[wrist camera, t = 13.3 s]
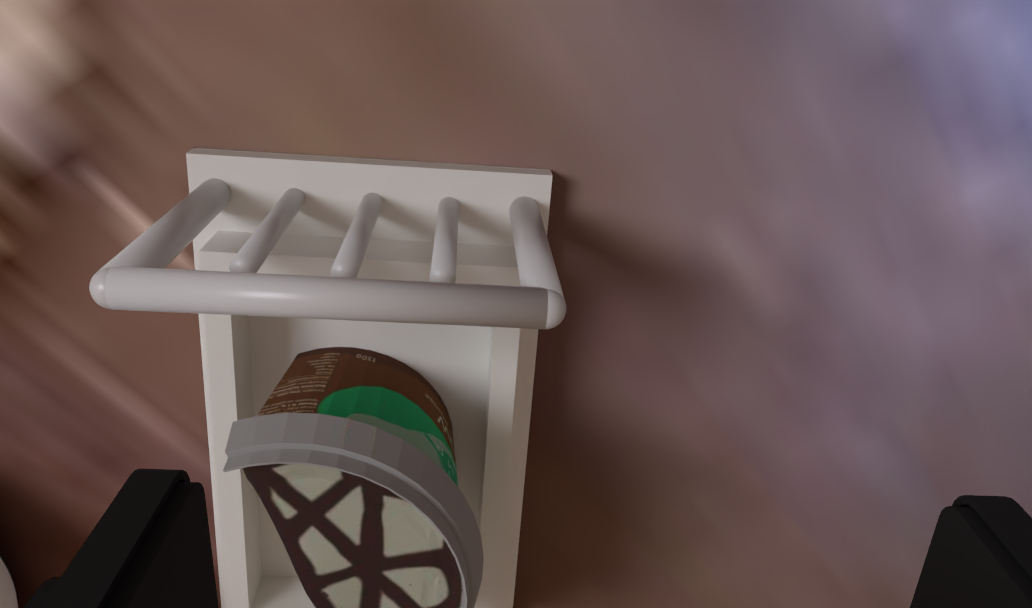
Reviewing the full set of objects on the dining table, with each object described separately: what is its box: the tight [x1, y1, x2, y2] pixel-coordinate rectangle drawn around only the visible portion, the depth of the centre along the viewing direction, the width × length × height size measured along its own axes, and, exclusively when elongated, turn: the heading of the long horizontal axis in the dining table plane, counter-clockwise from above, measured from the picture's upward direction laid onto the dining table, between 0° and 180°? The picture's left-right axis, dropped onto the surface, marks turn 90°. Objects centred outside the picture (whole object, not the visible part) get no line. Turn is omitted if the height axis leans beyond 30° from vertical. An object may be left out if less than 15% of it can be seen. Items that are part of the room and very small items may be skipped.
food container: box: [223, 347, 484, 608], centre depth 32 cm, size 12×6×10 cm, turn 18°
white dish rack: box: [89, 148, 566, 608], centre depth 32 cm, size 14×24×12 cm, turn 176°
